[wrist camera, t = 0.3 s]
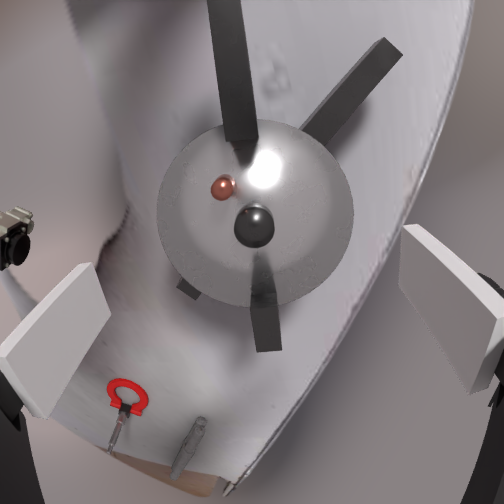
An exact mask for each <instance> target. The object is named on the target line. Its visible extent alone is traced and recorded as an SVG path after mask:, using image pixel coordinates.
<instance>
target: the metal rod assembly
mask: <svg viewBox="0 0 504 504" xmlns="http://www.w3.org/2000/svg"><path fill="white" fill-rule="evenodd" d="M206 423H207V421H206V419H205V418H203V417H198V418H197V420H196V422H195V424H194V426H193V428H192V430H191V432H190V433H189V435H188V436H187V437H186V439H185V440H184V442H183V446H182V448H181V450H180V452H179V454H178V456H177V458H176V460H175V462H174V464H173V465H172V467H171V469H172V472H171V474H170V479H172V480H177V479H178V477H179V475H180V474H181V472H182V471H183V469H184V467H185V466H186V464H187V463H188V461H189V459H190V458H191V457H192V456H193V455H194V453H195V450H196V447H197V445H198V444H199V442H200V440H201V439H202V437H203V435H204V434H205V429H204V427H205V425H206Z"/></svg>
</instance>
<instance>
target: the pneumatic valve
mask: <svg viewBox="0 0 504 504" xmlns="http://www.w3.org/2000/svg"><path fill="white" fill-rule="evenodd" d="M32 216H33V214H32V213H31V212H30V211H27V210H25V209H23V208H20V207H18V206H17V207H15V208H14V209H13V210H11V211H9V210H8V211H7V212H5V213H3V212H1V211H0V270H1V271H3V270H4V269H5V268H6V267H7V268H8V267H9V265H10V264H14V265H16V266H19V265H21V264H22V263H23V262H24V261H25V259H26V257H27V256H28V253H29V250H30V238H29V236H28V235H27V234H30V233H31V232H32V230H33V227H34V222H33V221H32V220H31V218H32Z"/></svg>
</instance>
